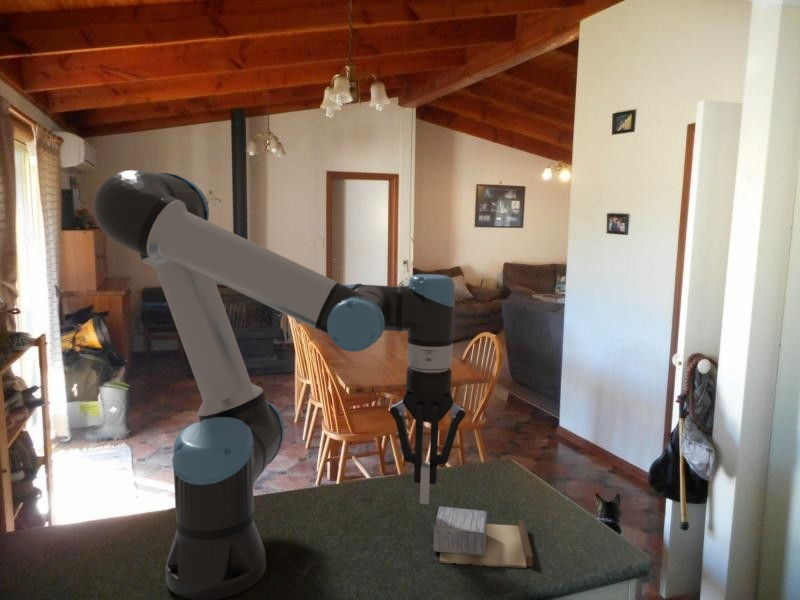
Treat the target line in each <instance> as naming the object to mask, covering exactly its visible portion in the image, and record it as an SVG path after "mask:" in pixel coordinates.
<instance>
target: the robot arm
mask: <svg viewBox="0 0 800 600" xmlns="http://www.w3.org/2000/svg"><path fill="white" fill-rule="evenodd" d="M94 196H95V197H94V200H93V211H94V217H95V220H96V222H97V225H98V226H99V228H100V229H101V231H102V232H103V233H104V234H105V235H106V236H107V237H108V238H109V239H111V240H112V241H114V242H115V243H117V244H119V245H120V246H123V247H125V248H128V249H130V250H132V251H134V252H136V253H139V255H140V259H141V261H142V263H144V264H146V265H148V266H150V267H152V268H153V269H154V270H155V271H156V275H157V278H158V280H159V283H160V285H161V288H162V291H163V293H164V296H165V299H166V302H167V304H168V307H169V310H170V314H171V316H172V319H173V321H174V324H175V328H176V330H177V332H178V335H179V338H180V341H181V343H182V347H183V349H184V352H185V354H186V357H187V360H188V363H189V366H190V367H191V371H192V374H193V377H194V379H195V382H196V385H197V388H198V391H199V393H200V396H201V399H202V403H201V405H200V407H199V408H198V411H197V415H198V418H199V421H200V422H193V423H192V424H190V425H188V426H185V428H184V429H183V430H181V432H179V434H177V437H176V439H175V440H174V443H173V455H172V459H171V460H172V469H173V483H174V486H173V487H174V503H175V504H174V507H175V534H174V538H173V541H172V544H171V547H170V550H169V554H168V557H167V561H166V564H165V581H166V582H165V583H166V586H167V588H168V590H170V591H171V592H172V593H173V594H174V595H176V596H178V597H180V598H183V599H187V600H221V599H226V598H230V597H234V596H235V595H238V594H240V593H243V592H245V591H247V590H249V589H251V588H252V587H253V586H254V585H256V584H257V583H258V582H259V581H261V579H262V577H263V576H264V574H265V573H266V569H267V558H266V556H267V553H266V549H265V547H264V544H263V541H262V537H260V536H261V535H260V533H259V531H258V528H257V526H256V523H255V519H254V518H255V515H254V513H255V512H254V511H255V510H254V509H255V508H254V506H255V505H254V485H255V483H256V481H257V480H258V478H259V477H260V476H261V475H262V473H263V472H264V471H265V470H266V468H268V467H267V466H268V465H270V464H271V463H272V462H273V461H274V459H275V458H276V457H277V455H278V453H280V450H281V447H282V445H283V442H284V438H285V429H286V428H285V423H284V419H283V416H282V414H281V413H280V411H279V410H278V408H277V407H276V406H275V405H274V404H273V403H270V402H269V401H268V400H267V397H266V395H265V392H264V389H263V388H262V387H260V386H258V385H256V384H253V382H251V378H250V376H249V375H250V374H249V373H248V370H247V367H246V364H245V361H244V359H243V356H242V353H241V349H240V347H239V345H238V341H237V338H236V336H235V333H234V330H233V327H232V325H231V322H230V319H229V316H228V314H227V311H226V308H225V305H224V302H223V300H222V296H221V294H220V290H219V288H218V284H221V285H222V286H225V287H227V288H229V289H231V290H233V291H235V292H238V293H240V294H242V295H243V296H244V295H245V296H246V297H248V298H251V299H252V300H255V301H257V302H259V303H261V304H263V305H265V306H267V307H270V308H272V309H274V310H276V311H278V312H281V314H284V315H286V316H289V317H291V318H293V319H295V320H298V321H299V322H301V323H304V324H305V325H308V326H310V327H312V328H314V329H316V330H317V331H318V330H319V331H320V332H322V333H324V334H326V335H328V336H329V338H330V339H331V341H332V342H333V343H334V345H336V346H337V347H338V348H340V349H341V350H344V351H346V352H351V353H357V352H361V351H365V350H367V349H368V348H370V347H371V346H373V345H374V344H375V343H377V341H379V339H381V337H382V336H383V333H384V331H385V332H389V331H390V332H407V349H406V350H407V352H406V354H407V356H406V359H407V360H406V363H407V365H408V367H407V369H406V382H405V383H406V385H405V393H404V395H403V396H402V397H403V398H402V400H400V401H399V402H397V403H396V402H394V403H392V404H391V406H390V409H389V412H390V415H391V416H392V418H393V419H394V421H395V424H396V429H397V433H398V437H399V442H400V447H401V451H402V455H403V461H405V462H406V463H410V464H412V465H413V466H414V467H413V468H414V469H413V470H414V471H413V481H414V483H415V484H419V485H420V486H419V487H420V488H419V489H420V491H419V504H421V505H423V504H424V505H429V502H430V501H429V500H430V485H435V484H436V483H437V475H438V474H437V473H438V472H437V471H438V470H437V469H438V466H439V465H446V464H447V463H448V461H449V457H450V455H451V451H452V448H453V444H454V441H455V438H456V435H457V431H458V427H459V425H460V423H461V422H462V421H463V420H464V418H465V417H466V409H465V407H464V406H459V405H458V404H456V403H455V402H454V398H453V396H452V393H451V392H452V375H453V374H452V370H451V369H450V368H451V367H452V365H453V345H454V344H453V343H454V342H453V341H454V339H453V338H454V324H455V322H454V321H455V309H456V308H455V305H456V304H455V301H456V300H455V298H456V297H455V281H454V280H453V278H451V277H450V276H448V275H444V274H433V273H432V274H431V273H426V274H424V273H423V274H422V273H420V274H419V273H418V274H413V275H411V276H410V277H409V282H408V284H407V285H404V286H393V285H392V286H391V285H378V284H377V285H376V284H362V283H356V284H341V283H339V282H338V281H336V280H334V279H331V278H330V277H327V276H326V275H323V274H321V273H319V272H317V271H315V270H312V269H311V268H308V267H306V266H305V265H301V264H300V263H298V262H296V261H294V260H291V259H290V258H287V257H285V256H283V255H281V254H279V253H276V252H274V251H272V250H270V249H268V248H266V247H264V246H261V245H260V244H257V243H256V242H253V241H251V240H249V239H246V238H245V237H243V236H240V235H238V234H236V233H234V232H232V231H229V230H227V229H225V228H223V227H222V226H219V225H217V224H215V223H213V222H211V221H209V219H210V207H209V204H208V201H207V198H206V196H205V194H204V193H203V191H202V190H201V189H200V188H199V186H197V184H195V183H194V182H193V181H191V180H190V179H186V178H184V177H183V176H179V175H177V174H175V173H170V172H151V171H145V170H138V169H128V170H121V171H119V172H116V173H114V174H112V175H110V176H109V177H108V178H106V179H105V180H104V181H103V182H102V184H101V185H100V186H99V187H98V189H97V190H96V193H95V195H94ZM217 283H218V284H217ZM405 408H406V409H407V411H408V413H409V414H410V415H411V416H412V417H411V418H413V419H414V420H415V432H414V433H415V438H414V452H413V451H412V448H411V442H410V438H409V433H408V428H407V424H406V418H405V416H404V415H405V413H406V409H405ZM449 411H450V417H451V419H450V423H449V426H448V429H447V433H446V436H445V439H444V443H443V446H442V449H441V452H440V454H438V448H439V447H438V445H439V444H438V443H439V423H440V422H441V420H443V418H444V417H445V416H446V415H447V413H448V412H449ZM425 422H426V423H427V422H429V423H430V447H429V448H430V449H429V461H427V460H423V450H424V449H423V448H424V447H423V446H424V444H423V443H424V423H425Z"/></svg>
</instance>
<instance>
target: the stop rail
mask: <svg viewBox="0 0 800 600" xmlns="http://www.w3.org/2000/svg"><path fill="white" fill-rule="evenodd" d="M517 526H518V527H519V532H520V537H521V542H522V547H523V552H524V557H525V562H526V568H527V567H528V568H529V567H533V559H534V558H533V552H532V547H531V542H530V539H529V536H528V535H529V534H528V531H527V527H526V526H527V525H526V521H525V520H524V519H518V525H517Z"/></svg>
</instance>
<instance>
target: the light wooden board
mask: <svg viewBox="0 0 800 600" xmlns="http://www.w3.org/2000/svg"><path fill="white" fill-rule="evenodd" d="M518 526H519V525H514V524H513V525H511V524H495V523H487V534H486V546H485V555H484V556H475V555H466V554H456V553H447V552H439V563H440V564H451V563H456V565H467V564H472V565H471V566H483V565H485V566H488V567H499V566H501V567H502V568H505V567H506V568H516V569H517V568H518V569H527V566H526V562H525V557H524V552H523V547H522V542H521V537H520V532H519V527H518Z"/></svg>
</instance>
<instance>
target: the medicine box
mask: <svg viewBox="0 0 800 600" xmlns="http://www.w3.org/2000/svg"><path fill="white" fill-rule="evenodd" d="M487 524H488V513H487V511H485V510H480V509H469V508H460V507H450V506H439V507H438V511H437V515H436V520H435V524H434V527H433V540H432V541H433V543H432V544H433V545H432V550H433V552H437V553H440V552H447V553H456V554H466V555H475V556H484V555H485V546H486V534H487Z"/></svg>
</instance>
